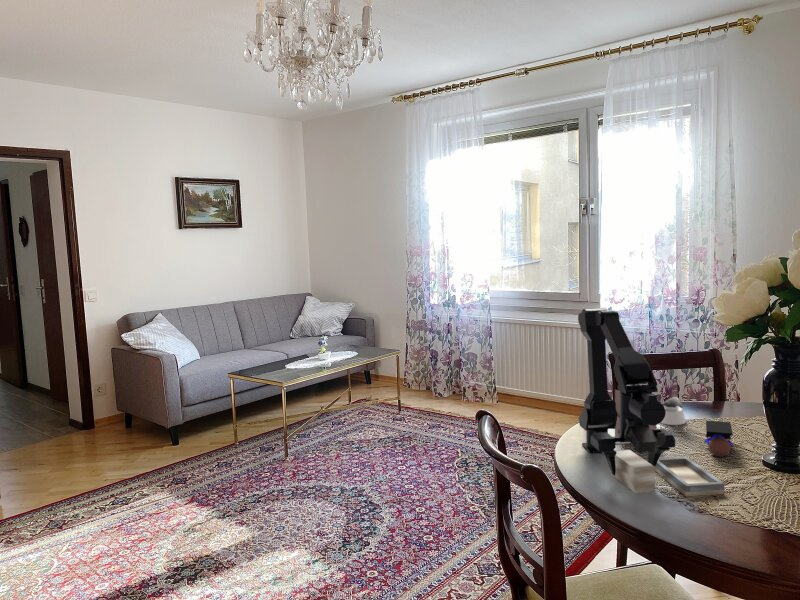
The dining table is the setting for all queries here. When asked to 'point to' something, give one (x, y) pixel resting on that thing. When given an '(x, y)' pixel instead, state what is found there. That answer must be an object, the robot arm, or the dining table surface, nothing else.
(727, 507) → the dining table surface
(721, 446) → the figurine character
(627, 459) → the block
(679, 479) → the jig board
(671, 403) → the inkwell
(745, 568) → the dining table surface
